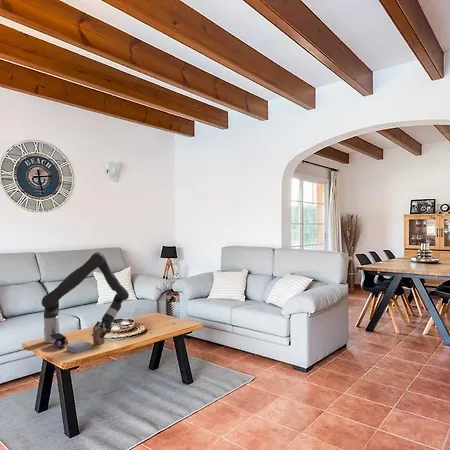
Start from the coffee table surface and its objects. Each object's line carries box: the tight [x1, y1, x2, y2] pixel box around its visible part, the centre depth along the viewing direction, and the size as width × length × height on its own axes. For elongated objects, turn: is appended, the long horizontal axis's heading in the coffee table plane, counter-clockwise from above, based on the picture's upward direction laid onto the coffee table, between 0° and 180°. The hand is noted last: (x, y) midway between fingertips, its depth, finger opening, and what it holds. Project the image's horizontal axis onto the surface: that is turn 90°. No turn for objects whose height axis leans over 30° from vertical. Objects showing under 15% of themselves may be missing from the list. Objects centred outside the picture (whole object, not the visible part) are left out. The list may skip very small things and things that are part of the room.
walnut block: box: [92, 327, 105, 346], centre depth 255 cm, size 5×5×10 cm
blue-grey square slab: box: [65, 340, 93, 354], centre depth 246 cm, size 11×11×3 cm
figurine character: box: [50, 332, 69, 350], centre depth 253 cm, size 7×8×15 cm
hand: (97, 337), depth 254 cm, fingers open, 8 cm apart
